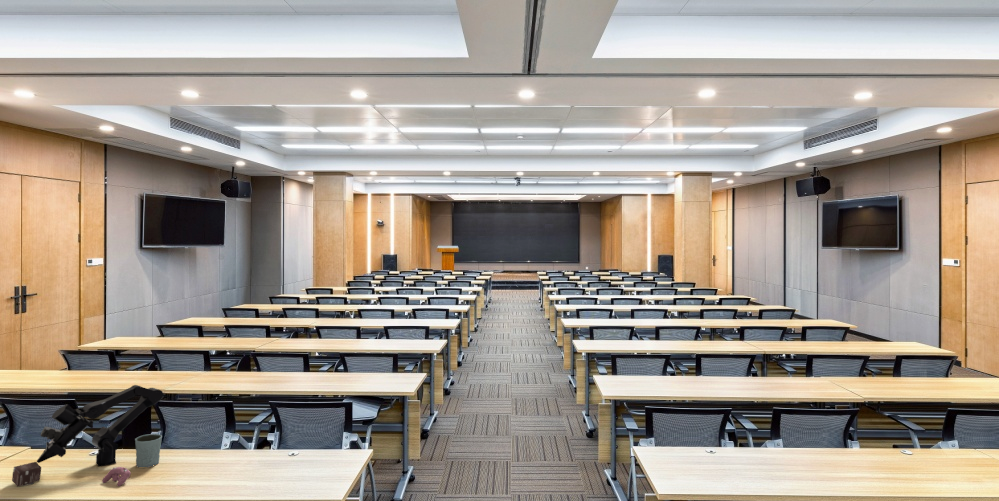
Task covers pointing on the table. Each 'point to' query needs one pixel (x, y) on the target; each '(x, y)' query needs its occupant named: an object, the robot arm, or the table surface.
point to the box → (26, 474)
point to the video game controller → (117, 475)
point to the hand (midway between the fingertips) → (37, 462)
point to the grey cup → (148, 450)
